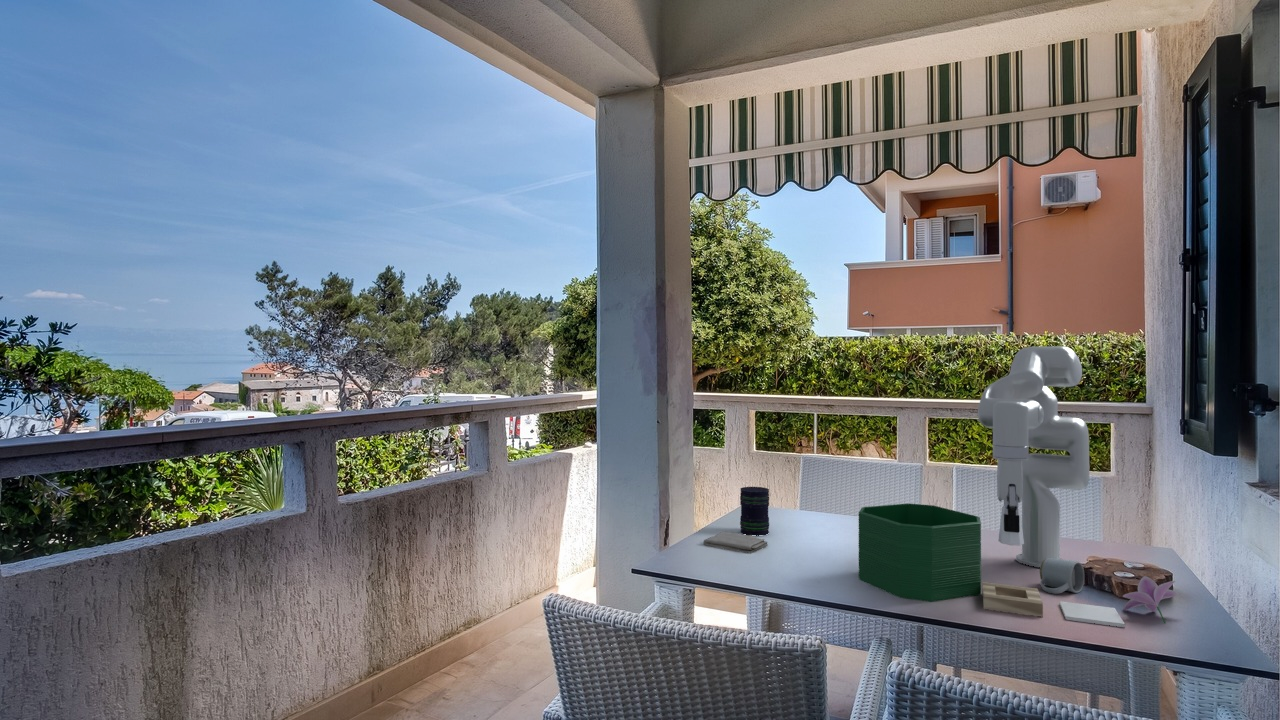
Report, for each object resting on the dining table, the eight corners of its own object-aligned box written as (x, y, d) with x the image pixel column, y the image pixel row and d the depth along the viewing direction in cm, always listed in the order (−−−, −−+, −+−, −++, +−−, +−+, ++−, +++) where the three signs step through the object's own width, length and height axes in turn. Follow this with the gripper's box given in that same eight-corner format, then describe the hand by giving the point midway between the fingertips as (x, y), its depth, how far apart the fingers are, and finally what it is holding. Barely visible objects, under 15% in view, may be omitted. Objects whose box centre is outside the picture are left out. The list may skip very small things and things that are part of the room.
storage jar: (757, 537, 229) (757, 492, 229) (734, 532, 236) (734, 488, 236) (775, 533, 236) (775, 489, 236) (752, 528, 243) (752, 485, 243)
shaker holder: (982, 594, 172) (982, 582, 172) (1037, 601, 167) (1037, 588, 167) (983, 609, 161) (983, 596, 161) (1042, 617, 156) (1042, 603, 156)
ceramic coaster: (1059, 604, 165) (1059, 601, 165) (1114, 611, 160) (1114, 608, 160) (1065, 619, 155) (1065, 616, 155) (1124, 627, 150) (1124, 623, 150)
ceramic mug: (1051, 581, 182) (1050, 552, 182) (1085, 589, 176) (1085, 559, 176) (1032, 590, 176) (1031, 560, 176) (1066, 598, 170) (1066, 567, 170)
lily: (1191, 622, 156) (1171, 579, 161) (1197, 616, 147) (1176, 571, 152) (1130, 631, 161) (1112, 588, 166) (1132, 625, 152) (1114, 581, 157)
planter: (846, 574, 189) (846, 507, 189) (921, 565, 198) (921, 501, 198) (915, 605, 165) (914, 528, 165) (997, 592, 174) (996, 520, 174)
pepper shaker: (1024, 541, 166) (1024, 495, 166) (1023, 546, 161) (1023, 499, 161) (999, 538, 168) (998, 493, 168) (997, 543, 164) (997, 497, 164)
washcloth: (753, 555, 209) (753, 545, 209) (701, 546, 219) (701, 536, 219) (769, 547, 219) (769, 537, 219) (719, 539, 229) (719, 529, 229)
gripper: (991, 448, 174) (992, 520, 174) (994, 456, 159) (994, 536, 159) (1025, 449, 171) (1026, 523, 171) (1031, 458, 156) (1032, 539, 155)
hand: (1011, 528), depth 165 cm, fingers closed on pepper shaker, 4 cm apart
